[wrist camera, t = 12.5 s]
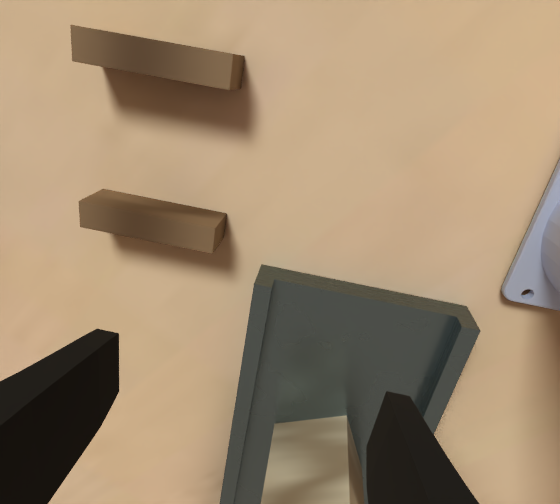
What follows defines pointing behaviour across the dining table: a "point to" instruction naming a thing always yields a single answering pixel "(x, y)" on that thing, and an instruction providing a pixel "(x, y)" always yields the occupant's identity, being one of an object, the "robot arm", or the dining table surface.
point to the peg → (313, 464)
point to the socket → (171, 65)
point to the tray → (336, 364)
